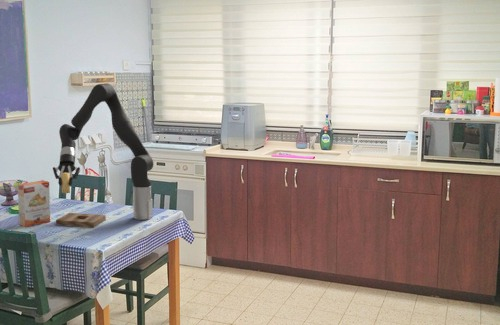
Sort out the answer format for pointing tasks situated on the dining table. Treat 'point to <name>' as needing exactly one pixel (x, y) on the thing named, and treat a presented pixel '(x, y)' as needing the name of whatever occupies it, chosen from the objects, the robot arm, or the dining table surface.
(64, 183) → the ochre peg
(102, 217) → the walnut pocket board
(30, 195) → the cracker box
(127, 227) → the dining table surface
